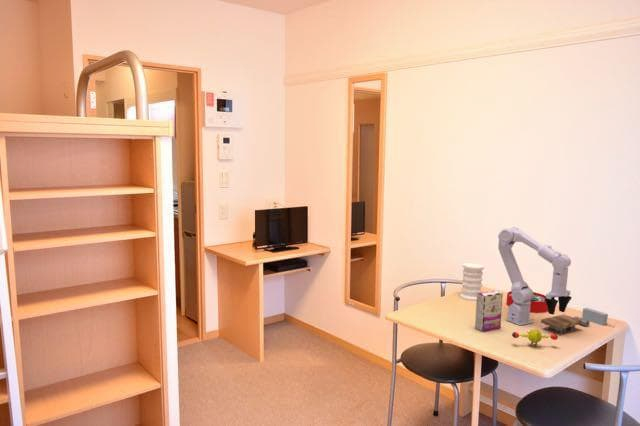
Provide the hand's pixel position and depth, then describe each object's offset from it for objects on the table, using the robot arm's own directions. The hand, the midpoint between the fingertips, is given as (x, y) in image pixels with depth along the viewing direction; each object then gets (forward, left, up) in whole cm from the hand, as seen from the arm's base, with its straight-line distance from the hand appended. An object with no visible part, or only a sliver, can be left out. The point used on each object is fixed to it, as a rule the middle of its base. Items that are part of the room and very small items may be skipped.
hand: (556, 312), depth 209 cm
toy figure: (-24, -7, -9) cm, 26 cm away
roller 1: (+1, 0, -8) cm, 9 cm away
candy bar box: (-26, +15, -9) cm, 31 cm away
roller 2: (+8, 0, -8) cm, 12 cm away
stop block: (+29, 0, -8) cm, 30 cm away
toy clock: (+19, +29, -9) cm, 36 cm away
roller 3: (+19, 0, -9) cm, 21 cm away
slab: (+4, 0, -5) cm, 7 cm away
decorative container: (+3, +52, -9) cm, 53 cm away
